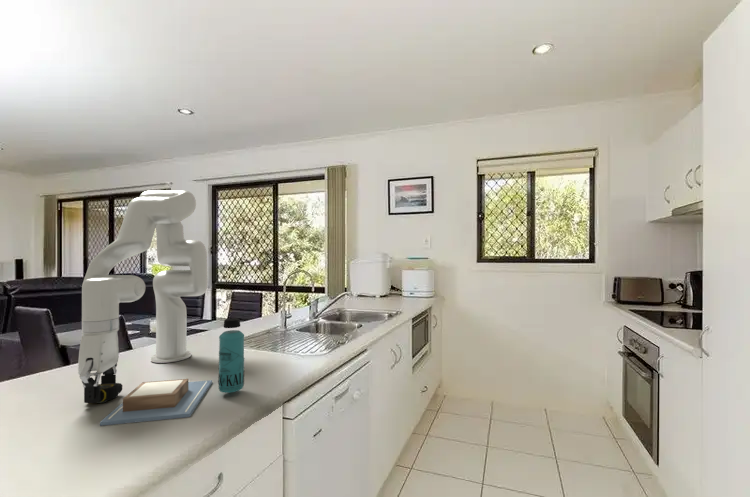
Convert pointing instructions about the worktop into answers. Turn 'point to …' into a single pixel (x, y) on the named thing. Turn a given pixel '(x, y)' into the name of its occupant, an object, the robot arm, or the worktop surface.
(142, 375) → the worktop surface
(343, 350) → the worktop surface
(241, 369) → the beverage bottle
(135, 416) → the board
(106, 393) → the tape measure
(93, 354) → the robot arm
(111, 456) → the worktop surface
